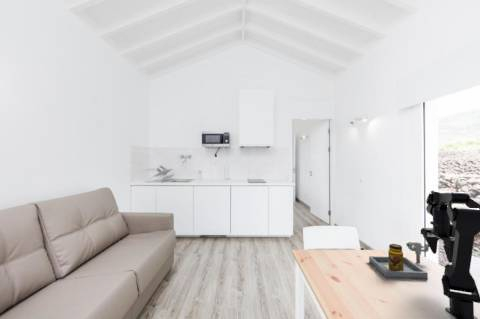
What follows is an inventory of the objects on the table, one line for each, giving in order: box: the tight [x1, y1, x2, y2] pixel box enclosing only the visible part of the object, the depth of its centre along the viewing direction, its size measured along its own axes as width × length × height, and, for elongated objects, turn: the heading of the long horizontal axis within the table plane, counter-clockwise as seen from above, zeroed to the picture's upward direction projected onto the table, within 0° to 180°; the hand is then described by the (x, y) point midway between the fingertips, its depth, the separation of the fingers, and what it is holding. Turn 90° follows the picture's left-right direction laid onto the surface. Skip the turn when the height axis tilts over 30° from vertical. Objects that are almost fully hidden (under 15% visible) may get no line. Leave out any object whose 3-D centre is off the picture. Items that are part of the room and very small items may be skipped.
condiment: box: [384, 243, 405, 271], centre depth 120 cm, size 7×8×12 cm
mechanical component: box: [406, 241, 430, 264], centre depth 129 cm, size 3×10×10 cm, turn 78°
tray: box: [368, 255, 429, 280], centre depth 121 cm, size 18×18×3 cm
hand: (442, 257), depth 103 cm, fingers open, 9 cm apart
